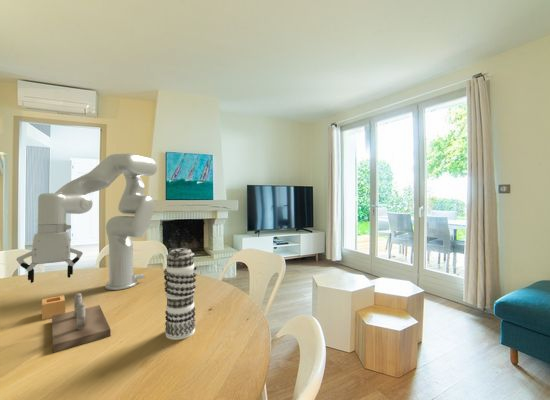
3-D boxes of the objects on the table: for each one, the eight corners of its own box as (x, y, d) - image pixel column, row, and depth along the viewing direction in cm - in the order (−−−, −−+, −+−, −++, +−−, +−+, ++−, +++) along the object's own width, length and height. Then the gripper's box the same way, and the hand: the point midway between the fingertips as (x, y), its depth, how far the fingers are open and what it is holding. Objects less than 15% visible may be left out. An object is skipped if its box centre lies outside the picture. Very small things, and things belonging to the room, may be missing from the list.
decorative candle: (171, 324, 85) (171, 246, 85) (200, 325, 85) (200, 246, 85) (158, 340, 76) (157, 252, 76) (190, 340, 76) (190, 253, 76)
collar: (64, 308, 97) (64, 295, 97) (65, 314, 92) (64, 300, 92) (42, 313, 93) (42, 299, 93) (42, 319, 88) (41, 304, 88)
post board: (99, 310, 95) (99, 284, 95) (110, 335, 78) (110, 303, 78) (51, 321, 87) (51, 292, 87) (52, 352, 70) (52, 316, 70)
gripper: (82, 227, 100) (81, 273, 100) (18, 229, 89) (17, 281, 89) (84, 228, 94) (83, 277, 94) (16, 231, 83) (14, 287, 83)
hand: (51, 279), depth 92 cm, fingers open, 9 cm apart
